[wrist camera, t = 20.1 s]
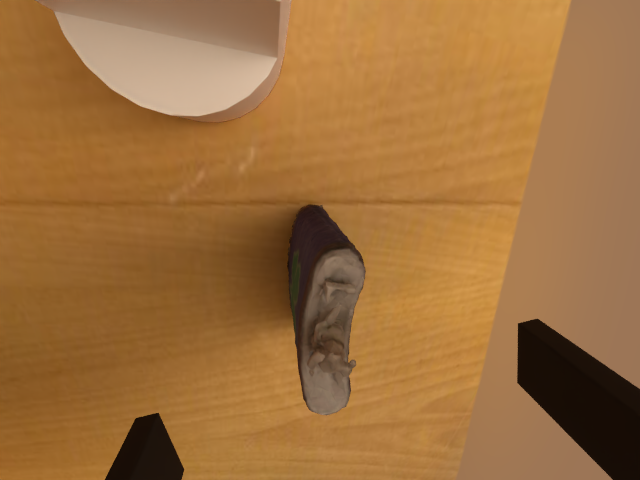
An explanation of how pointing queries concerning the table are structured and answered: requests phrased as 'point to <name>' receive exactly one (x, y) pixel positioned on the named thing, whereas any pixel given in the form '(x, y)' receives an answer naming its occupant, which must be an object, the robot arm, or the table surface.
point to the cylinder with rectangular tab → (181, 51)
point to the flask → (323, 306)
